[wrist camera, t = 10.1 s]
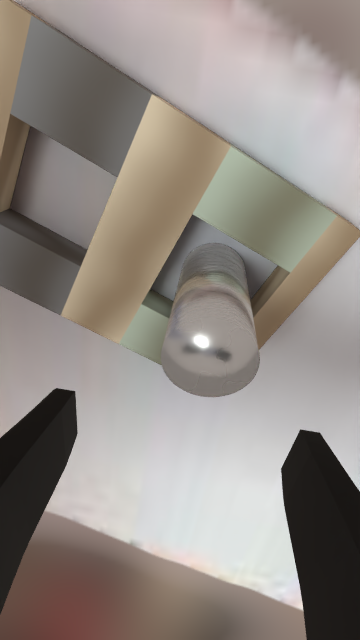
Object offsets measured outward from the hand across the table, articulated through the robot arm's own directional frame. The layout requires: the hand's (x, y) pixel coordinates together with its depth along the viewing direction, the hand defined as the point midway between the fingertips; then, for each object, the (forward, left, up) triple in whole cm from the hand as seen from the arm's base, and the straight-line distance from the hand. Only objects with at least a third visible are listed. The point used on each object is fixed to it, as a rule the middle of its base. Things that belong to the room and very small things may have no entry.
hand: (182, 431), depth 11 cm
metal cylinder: (-1, +1, -10) cm, 10 cm away
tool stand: (-4, -2, -10) cm, 11 cm away
